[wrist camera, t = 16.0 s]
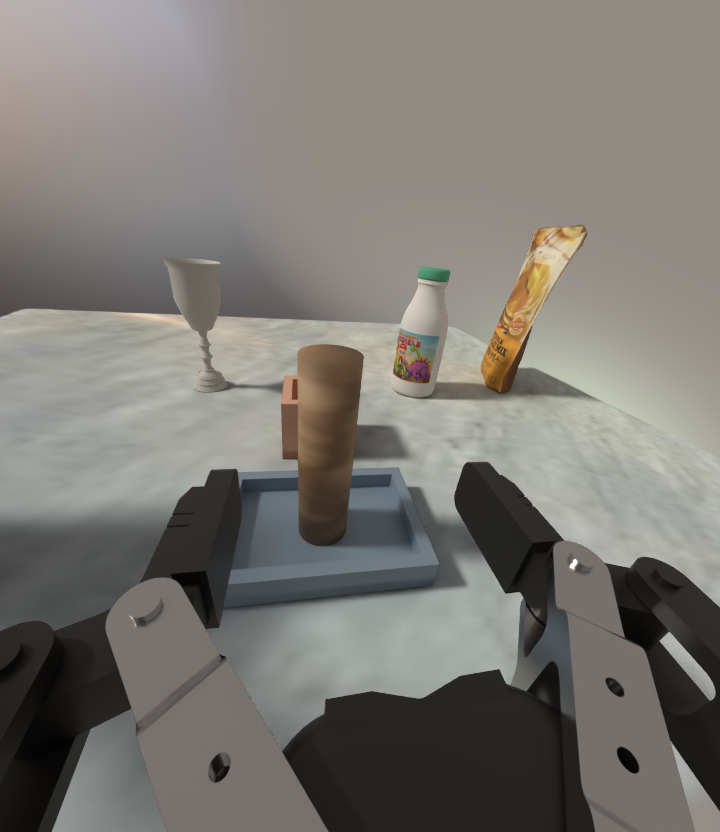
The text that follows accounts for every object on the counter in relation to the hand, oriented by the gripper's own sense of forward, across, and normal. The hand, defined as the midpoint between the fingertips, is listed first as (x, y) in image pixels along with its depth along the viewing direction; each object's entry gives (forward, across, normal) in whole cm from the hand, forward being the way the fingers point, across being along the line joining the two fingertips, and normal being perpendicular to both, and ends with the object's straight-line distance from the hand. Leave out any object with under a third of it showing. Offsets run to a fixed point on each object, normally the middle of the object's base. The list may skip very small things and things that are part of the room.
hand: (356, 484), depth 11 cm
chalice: (+41, +16, +15) cm, 46 cm away
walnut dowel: (+10, 0, +14) cm, 17 cm away
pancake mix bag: (+47, -39, +15) cm, 63 cm away
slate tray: (+10, 0, +15) cm, 18 cm away
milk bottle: (+41, -18, +15) cm, 47 cm away
